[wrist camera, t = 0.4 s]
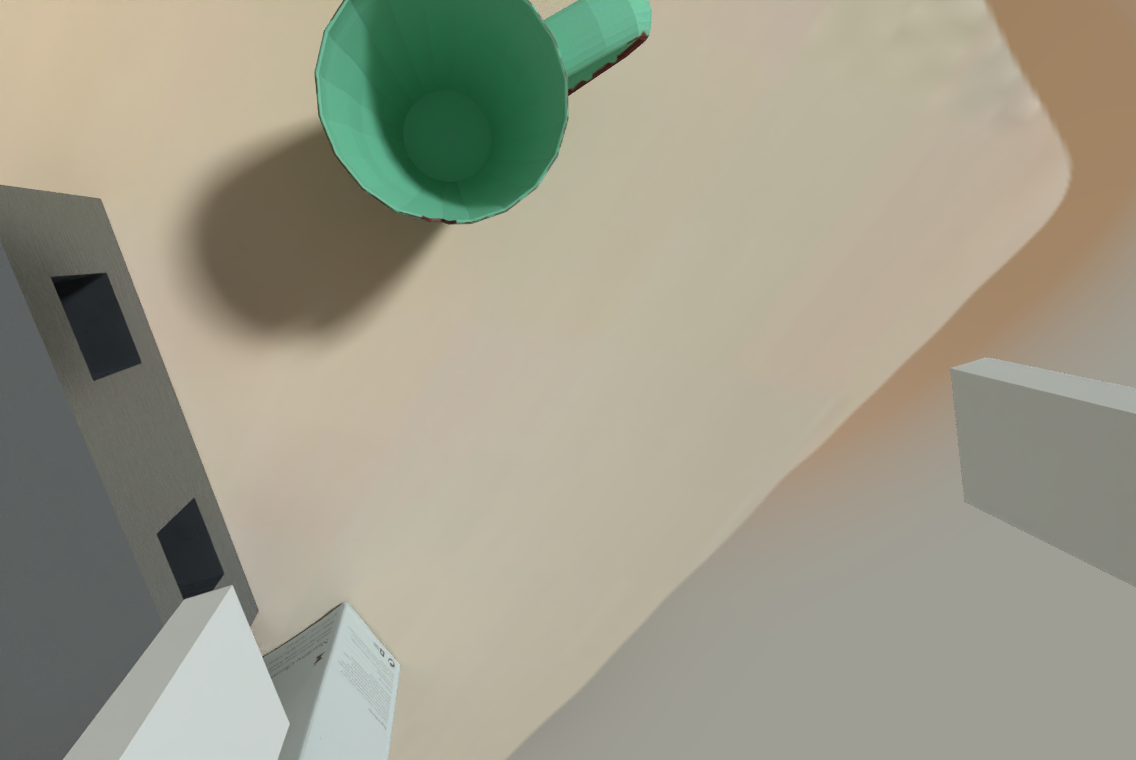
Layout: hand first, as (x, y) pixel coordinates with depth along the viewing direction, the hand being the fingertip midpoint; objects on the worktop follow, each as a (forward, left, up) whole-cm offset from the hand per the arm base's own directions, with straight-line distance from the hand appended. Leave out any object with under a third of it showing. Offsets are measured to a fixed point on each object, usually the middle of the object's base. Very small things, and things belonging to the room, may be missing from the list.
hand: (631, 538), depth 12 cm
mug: (-12, +2, -28) cm, 30 cm away
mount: (0, -23, -27) cm, 36 cm away
